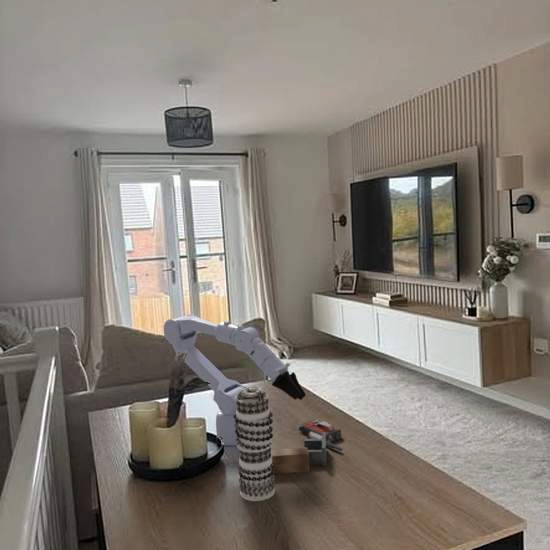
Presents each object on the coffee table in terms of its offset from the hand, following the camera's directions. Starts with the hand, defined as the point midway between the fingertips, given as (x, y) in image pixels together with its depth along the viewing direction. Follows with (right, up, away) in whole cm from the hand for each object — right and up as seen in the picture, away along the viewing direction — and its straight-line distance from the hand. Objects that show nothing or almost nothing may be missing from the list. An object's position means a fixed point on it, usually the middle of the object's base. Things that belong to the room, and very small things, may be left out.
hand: (300, 397), depth 140 cm
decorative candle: (-11, -19, -17) cm, 28 cm away
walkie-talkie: (+8, -16, +11) cm, 21 cm away
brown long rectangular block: (-6, -18, -7) cm, 20 cm away
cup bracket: (+4, -16, -1) cm, 17 cm away
